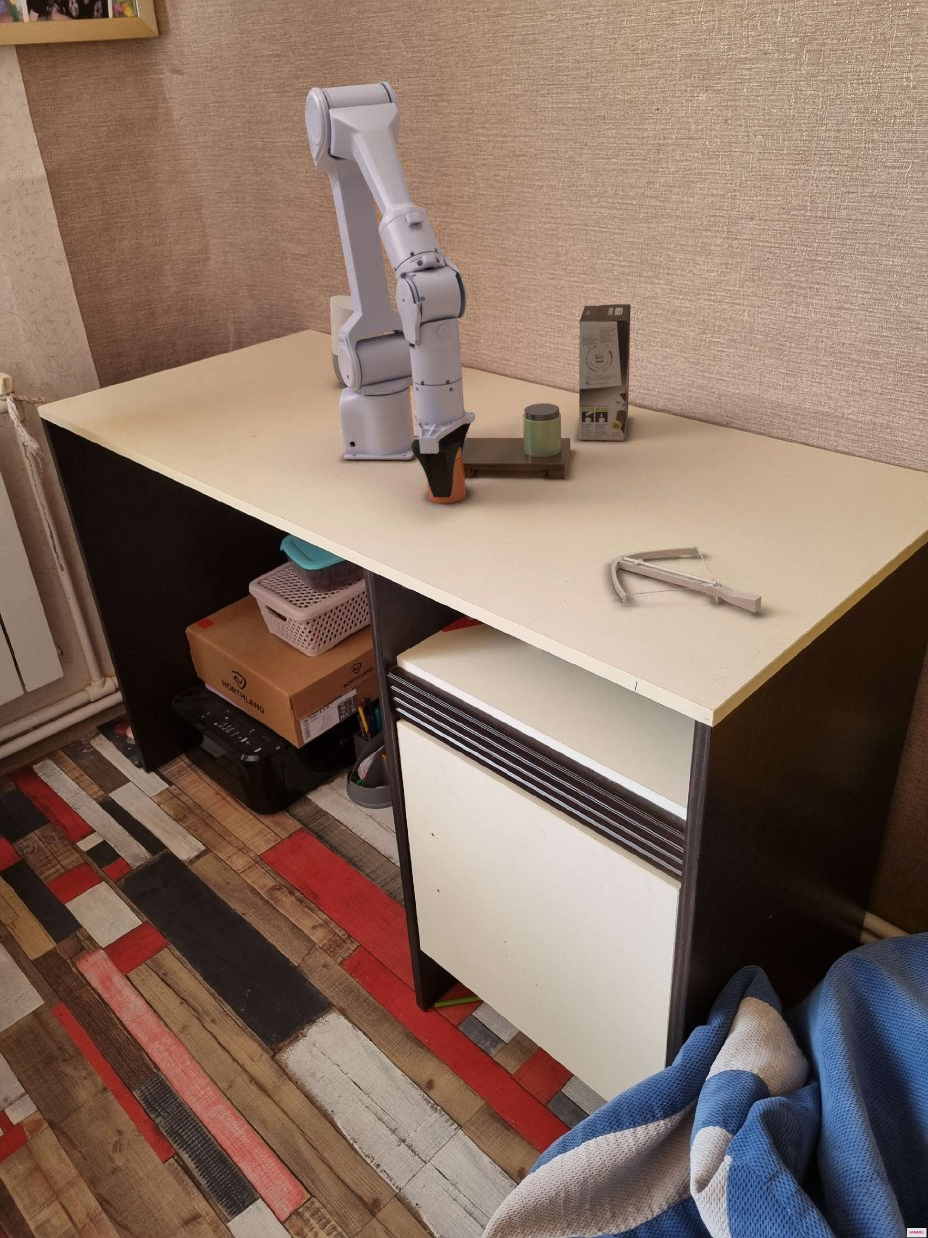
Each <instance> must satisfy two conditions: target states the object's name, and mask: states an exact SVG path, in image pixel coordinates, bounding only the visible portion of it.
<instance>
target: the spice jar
mask: <svg viewBox="0 0 928 1238" xmlns="http://www.w3.org/2000/svg"><path fill="white" fill-rule="evenodd" d="M426 484H427V493H428V499H429V500H430V501H431V502H433V503H436V504H454V503H457V502H460V501H462V500H464V499H465V498H466V496H467V490H466V488H467V487H466V478H465V473H464V459H463V453H462V452H461V447H459V450H458V452H457V455H456V459H455V464H454V473H453V487H452V493H451V496H450V497H433V494H432V492H431V489H430V486H429V483H428V480H427V479H426Z"/></svg>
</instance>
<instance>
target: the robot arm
mask: <svg viewBox="0 0 928 1238" xmlns="http://www.w3.org/2000/svg"><path fill="white" fill-rule="evenodd" d="M400 109H401V107H400V103H399V99H398V95H397V93H396V91H395V90H394V88H393V87H392V86H391V85H390V83H389V82H388V81H386V80H385V81H379V82H378V83H367V84H356V85H343V86H334V87H323V88H320V87H318V86H317V87H312V88H311V89H310V90H309V91H308V94H307V96H306V99H305V109H304V119H305V120H304V121H305V127H306V132H307V136H308V137H307V138H308V142H309V148H310V153H311V154H310V155H311V158H312V159H313V163H314V166H315V168H316V169H317V170H320V171H322V172H324V173H326V174H327V177H328V180H329V184H330V189H331V192H332V196H333V202H334V208H335V213H336V219H337V226H338V231H339V237H340V241H341V247H342V252H343V258H344V264H345V269H346V274H347V281H348V286H349V292H350V296H351V298H352V303H353V309H354V312H353V314H352V315H351V316H350V318H349V319H348V320H347V321H346V322H345V323H344V324H343V326H342V327H341V328H340V330H339V331H338V333H337V335H338V336H337V341H338V362H339V368H340V372H341V375H342V378H343V380H344V382H345V384H346V385H347V386H348V387H347V386H345V387H344V388H343V389H342V390H341V393H340V397H339V419H340V425H341V433H342V441H343V446H344V447H343V448H344V454H343V459H344V460H394V461H395V460H397V461H398V460H403V461H405V460H406V461H407V460H411V459H413V457H414V456H415V458H416V459H417V460H418V462H419V464H420V465H421V467H422V469H423V472H424V474H425V477H426V481H427V480H428V483H429V486H430V489H431V492H432V494H433V497H450V496H451V493H452V487H453V473H454V464H455V459H456V455H457V452H458V450H459V447H461V452H463V446H464V442H465V440H466V438H467V434H468V432H469V429H470V427H471V424H472V423H474V421H475V419H476V414H475V412H473V411H466V409H465V399H464V387H463V386H464V385H463V371H462V369H463V368H462V356H461V355H462V353H461V341H460V340H461V339H460V325H459V320H458V319H462V318H463V317H464V315H465V313H466V311H467V310H466V309H467V291H466V286H465V281H464V279H463V275H462V273H461V270H460V269H459V267H458V266H457V265H455V264H454V263H452V261H451V257H449V256H444V255H443V252H442V250H441V247H440V245H439V242H438V240H437V237H436V234H435V232H434V229H433V227H432V224H431V221H430V219H429V216H428V214H427V212H426V210H425V209H424V208H423V207H420V205H419V206H418V205H416V204H413V201H412V197H411V194H410V190H409V186H408V182H407V180H406V175H405V173H404V170H403V166H402V163H401V159H400V156H399V152H398V148H397V145H398V142H399V139H400V138H399V137H400V127H401V110H400ZM374 201H375V202H374ZM375 203H376V205H377V207H378V209H379V211H380V213H381V215H382V219H381V220H380V223H379V224H378V218H377V213H376V207H375ZM382 245H383V248H384V250H385V254H386V256H387V258H388V261H389V264H390V266H391V269H392V272H393V274H394V277H395V279H396V282H397V284H396V288H395V302H396V306H397V310H398V312H397V311H396V310H394V309H393V308H392V304H391V297H390V292H389V286H388V279H387V274H386V273H387V272H386V267H385V261H384V255H383V249H382ZM382 332H383V333H387V334H384V335H382V336H376V337H371V338H366V339H361V340H359V338H361V337H363V336H366V335H372V334H377V333H382ZM388 332H393V333H388ZM411 386H412V389H413V397H414V398H413V399H414V400H413V401H414V409H415V410H414V411H415V415H414V417H413V408H412V407H413V406H412V396H411ZM413 418H414V419H413ZM414 424H415V427H416V429H417V432H418V435H415V428H414Z"/></svg>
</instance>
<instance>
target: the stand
mask: <svg viewBox="0 0 928 1238" xmlns="http://www.w3.org/2000/svg"><path fill="white" fill-rule="evenodd" d="M571 447H572V446H571V437H561V452H560V453H558V454H556V455H554V456H550V457H533V456H529V455H527V454H525V452H524V437H466V438H465V442H464V446H463V452H462V453H463V459H464V473H465V479H471V477H472V475H473V472H474V470H533V471H535V470H537V471H539V470H541V471H543V470H544V471H545V470H546V471H548V479H551V480H552V479H554V480H557V479H558V480H560V479H561V480H564V479H565V478H566V474H567V469H568V465H569V461H570V455H571V451H572V449H571Z"/></svg>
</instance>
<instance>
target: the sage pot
mask: <svg viewBox="0 0 928 1238" xmlns="http://www.w3.org/2000/svg"><path fill="white" fill-rule="evenodd" d="M522 431H523V437H522V438H524V452H525V454H527V455H529V456H533V457H550V456H554V455H556V454H558V453H560V452H561V438H562V414H561V412H560V407H559V406H558V405H556V404H553V403H546V402H544V403H534V404H530V405H527V406H525V408H524V410H523V415H522Z"/></svg>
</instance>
